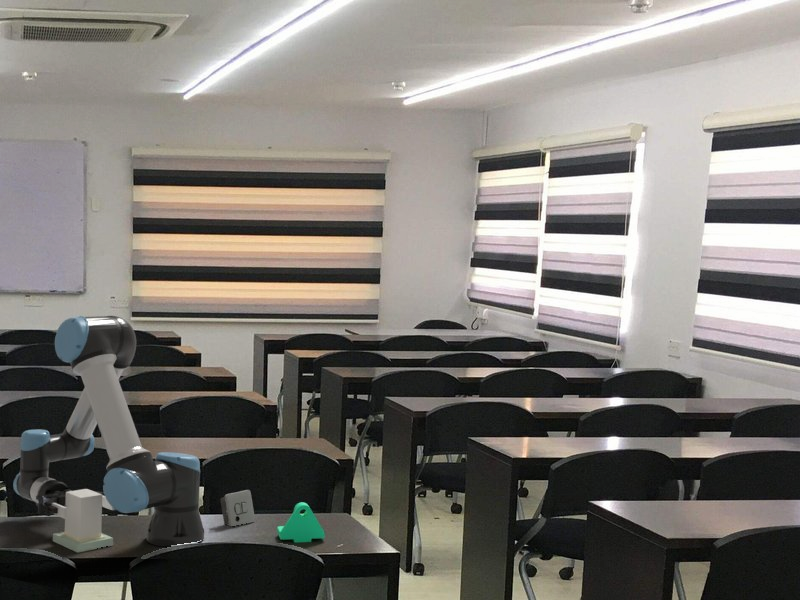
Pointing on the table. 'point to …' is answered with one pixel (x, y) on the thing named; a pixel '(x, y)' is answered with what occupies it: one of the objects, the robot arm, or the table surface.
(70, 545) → the board
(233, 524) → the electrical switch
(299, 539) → the camera mount
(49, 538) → the table surface
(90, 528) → the block
